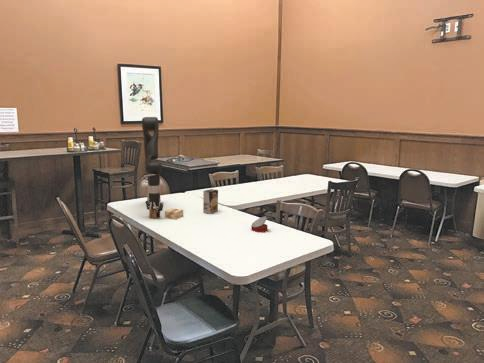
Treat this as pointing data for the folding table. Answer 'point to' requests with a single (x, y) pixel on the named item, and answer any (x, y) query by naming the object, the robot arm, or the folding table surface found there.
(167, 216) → the oak block
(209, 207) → the coffee box
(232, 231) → the folding table surface
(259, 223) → the canned food
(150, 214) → the walnut block
